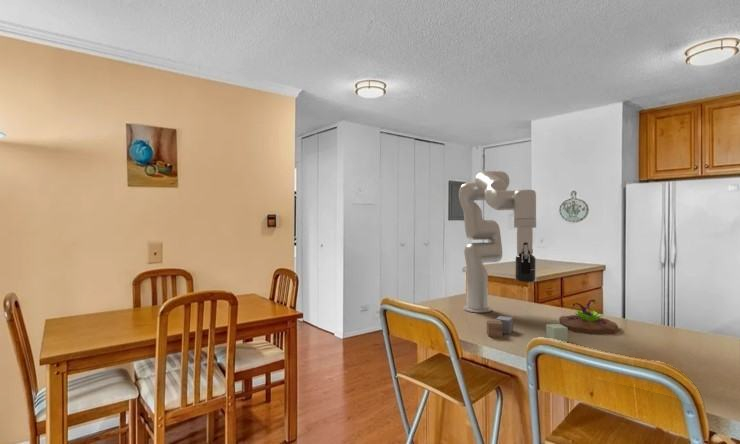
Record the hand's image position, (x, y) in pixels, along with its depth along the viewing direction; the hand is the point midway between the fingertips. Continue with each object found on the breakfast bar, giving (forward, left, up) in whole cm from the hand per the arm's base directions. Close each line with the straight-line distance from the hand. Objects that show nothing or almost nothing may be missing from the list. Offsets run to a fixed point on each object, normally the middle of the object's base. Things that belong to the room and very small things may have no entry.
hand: (525, 271), depth 143 cm
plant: (-19, +24, -24) cm, 39 cm away
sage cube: (+2, +10, -24) cm, 26 cm away
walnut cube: (+2, -11, -24) cm, 26 cm away
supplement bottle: (0, 0, -4) cm, 4 cm away
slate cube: (-4, -7, -24) cm, 25 cm away
